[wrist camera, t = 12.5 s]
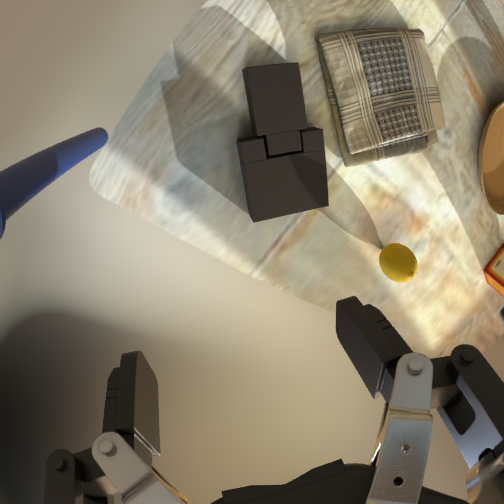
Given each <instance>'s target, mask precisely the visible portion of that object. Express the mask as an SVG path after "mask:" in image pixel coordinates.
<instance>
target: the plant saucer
mask: <svg viewBox="0 0 504 504" xmlns="http://www.w3.org/2000/svg"><path fill="white" fill-rule="evenodd" d="M478 171H479V180H480V185H481V189H482V192H483V195H484V198H485V200H486V202H487V203H488V205H489V207H490V208H491V209H492V210H493V211H494V212H495V213H497V214H500V215H504V101H503V102H501V103H500V104H499V105H497V106H496V107H495V109H494V110H493V111H492V112H491V114H490V116H489V117H488V119H487V121H486V124H485V126H484V129H483V132H482V136H481V140H480V146H479V155H478Z"/></svg>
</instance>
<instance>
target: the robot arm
mask: <svg viewBox="0 0 504 504" xmlns="http://www.w3.org/2000/svg"><path fill="white" fill-rule="evenodd" d="M336 333H337V337H338V339H339V341H340V343H341V345H342V346H343V348H344V350H345V351H346V353H347V355H348V356H349V358H350V360H351V361H352V363H353V365H354V366H355V368H356V370H357V371H358V373H359V375H360V376H361V378H362V380H363V382H364V383H365V385H366V387H367V388H368V390H369V392H370V393H371V395H372V397H373V398H374V399H376V398H378V397H381V396H383V398H384V399H385V401H386V402H385V405H384V410H383V415H382V419H381V423H380V427H379V431H378V435H377V439H376V443H375V446H374V449H373V452H372V455H371V458H370V461H369V464H368V465H366V464H357V463H354V464H344V463H343V461H342V459H339V460H336V461H334V462H331V463H328V464H325V465H322V466H319V467H316V468H313V469H311V470H310V471H308V472H306V473H305V474H303V475H301V476H299V477H298V478H296V479H294V480H292V481H290V482H289V483H286V484H283V485H251V486H246V487H241V488H236V489H231V490H226V491H222V495H223V497H222V498H220V499H218V500H216V501H214V502H213V503H211V504H504V383H503V381H502V380H501V379H500V377H499V376H498V375H497V374H496V372H495V371H494V369H493V368H492V367H491V366H490V364H489V363H488V362H487V361H486V359H485V358H484V357H483V355H482V354H481V353H480V352H479V350H478V349H476V348H475V347H473V346H471V345H467V344H462V345H459V346H457V347H455V348H454V349H453V351H452V353H451V355H450V356H446V357H440V358H434V359H429V358H428V357H427V356H425V355H423V354H421V353H416V352H413V351H412V350H411V349H410V347H409V346H408V345H407V344H406V342H405V341H404V340H403V338H402V337H401V336H400V335H399V333H398V332H397V331H396V330H395V328H394V327H392V325H391V323H390V322H389V321H388V320H387V319H386V317H385V316H384V315H383V314H382V312H381V311H380V310H379V309H377V308H375V307H374V306H372V305H370V304H367V305H364V306H363V305H362V303H361V302H360V301H359V300H358V298H357V297H356V296H352V297H349V298H345V299H342V300H339V301H337V303H336ZM433 408H436V409H437V411H438V413H439V414H440V416H441V418H442V419H443V421H444V423H445V425H446V426H447V428H448V430H449V431H450V433H451V435H452V437H453V439H454V440H455V442H456V444H457V446H458V448H459V449H460V451H461V453H462V455H463V457H464V459H465V461H466V462H467V464H468V466H469V468H470V470H469V472H468V473H467V476H466V486H467V489H468V497H467V500H466V501H465V500H462V499H459V498H456V497H452V496H449V495H446V494H443V493H440V492H437V491H434V490H432V489H429V488H426V487H424V486H422V483H423V478H424V473H425V468H426V463H427V457H428V452H429V446H430V439H431V431H432V424H433V416H432V415H430V409H433ZM158 455H161V453H160V437H159V409H158V384H157V379H156V377H155V374H154V372H153V371H152V369H151V367H150V366H149V364H148V362H147V360H146V359H145V357H144V355H143V353H142V352H141V351H134V352H129V353H124V354H122V356H121V363H120V367H118V368H114V369H113V371H112V373H111V375H110V376H109V378H108V385H107V392H106V400H105V409H104V419H103V431H102V434H101V435H99V436H98V437H97V438H96V439H95V440H94V442H93V444H92V447H91V448H89V449H86V450H84V451H81V452H78V453H75V454H71V453H70V452H69V451H67V450H65V449H58V450H56V451H54V452H52V453H51V454H50V456H49V457H48V459H47V462H46V475H45V499H44V504H114V498H113V494H115V493H118V492H120V494H121V495H122V497H123V498H122V501H123V503H124V504H194V503H193V502H191V501H190V500H189V499H188V498H186V497H185V496H184V495H183V494H182V493H181V492H179V491H178V490H177V489H176V488H175V487H174V486H173V485H172V484H171V483H170V482H169V481H168V480H167V479H165V477H164V476H163V475H162V474H161V473H160V472H159V471H158V470H157V469H156V468H155V467H154V466H153V465H152V456H158Z"/></svg>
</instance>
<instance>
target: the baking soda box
mask: <svg viewBox="0 0 504 504" xmlns="http://www.w3.org/2000/svg"><path fill="white" fill-rule="evenodd" d="M483 271H484V274H485V277H486V280H487V283H488V284H489V285H490V286H492V287H493V288H494V289H495V290H496V291H497V292H498V293H500V294H501V295H502V296H503V297H504V244H503V245H502V247H501V248H500V249H499V251H498V252H497V253H496V255H495V256H494V257H493V259H492V260H491V261H490V262H489V264H488V265H487V266H486V268H485V269H484V270H483Z"/></svg>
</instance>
